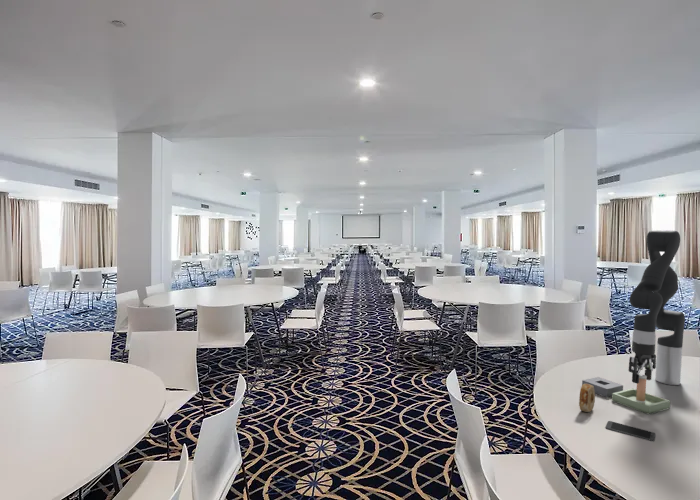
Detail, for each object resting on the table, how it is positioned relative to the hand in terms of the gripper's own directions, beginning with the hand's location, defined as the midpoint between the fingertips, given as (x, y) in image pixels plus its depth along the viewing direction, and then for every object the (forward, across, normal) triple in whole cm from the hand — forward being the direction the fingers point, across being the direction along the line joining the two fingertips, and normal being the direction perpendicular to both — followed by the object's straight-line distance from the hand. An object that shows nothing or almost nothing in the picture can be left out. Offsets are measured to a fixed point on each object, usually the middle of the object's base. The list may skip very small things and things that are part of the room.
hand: (641, 381), depth 167 cm
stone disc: (+9, +26, -5) cm, 28 cm away
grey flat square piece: (+9, 0, -15) cm, 18 cm away
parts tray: (+9, 0, 0) cm, 9 cm away
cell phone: (+10, +28, +12) cm, 32 cm away
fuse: (+8, 0, 0) cm, 9 cm away
